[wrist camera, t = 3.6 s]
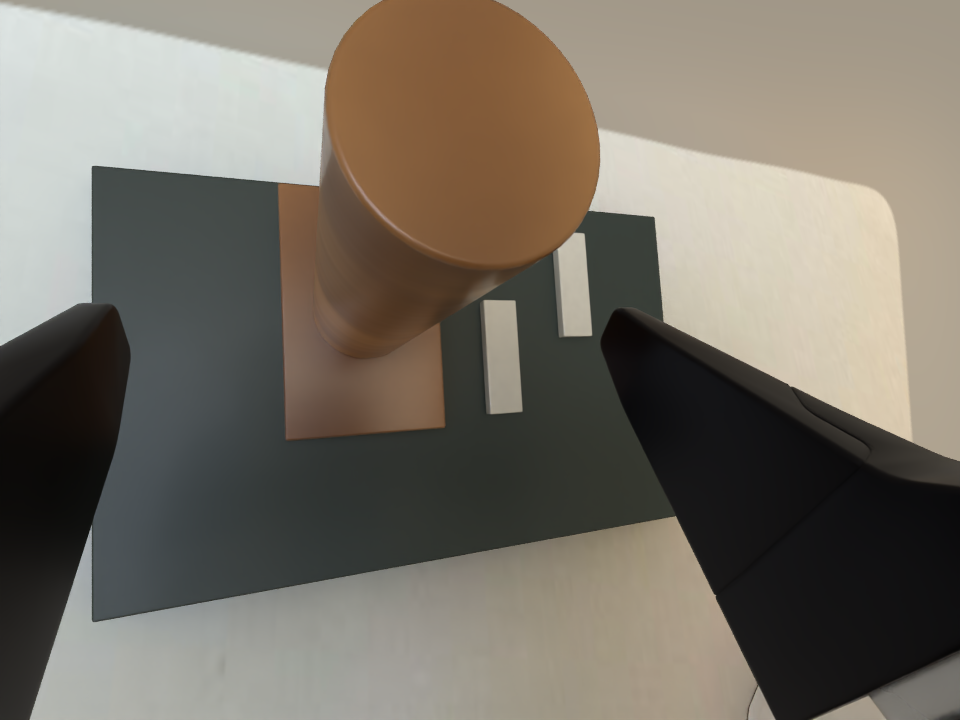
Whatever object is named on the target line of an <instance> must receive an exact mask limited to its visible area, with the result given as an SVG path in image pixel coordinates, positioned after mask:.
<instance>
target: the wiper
mask: <svg viewBox="0 0 960 720" xmlns="http://www.w3.org/2000/svg"><path fill="white" fill-rule="evenodd" d="M599 167H600V143H599V136H598V128H597V124H596V121H595V117H594V113H593V110H592V107H591V104H590V101H589V99H588V96H587V94H586V92H585V89H584V88H583V85H582V83H581V81H580V80H579V78H578V76H577V74H576V73H575V71H574V69H573V68H572V66H571V65H570V63H569V62H568V61H567V59H566V58H565V57H564V55H563V54H562V53H561V51H560V50H559V49H558V48H557V47H556V46H555V44H554V43H553V42H552V41H551V40H550V39H549V38H548V37H547V36H546V35H545V34H544V33H543V32H542V31H540V30H539V29H538V28H537V27H536V26H535V25H534V24H532V23H531V22H530V21H528V20H527V19H525V18H524V17H523V16H521V15H520V14H519V13H517V12H515V11H513V10H512V9H510V8H508V7H507V6H505V5H503V4H501V3H499V2H496V1H494V0H383V1H381V2H379V3H378V4H376V5H374V6H373V7H371V8H370V9H368V10H367V11H366V12H365V13H364V14H363V15H362V16H361V17H359V18H358V19H357V20H356V21H355V22H354V23H353V25H352V26H351V27H350V28H349V30H348V31H347V32H346V33H345V35H344V36H343V38H342V39H341V41H340V43H339V45H338V46H337V48H336V50H335V52H334V55H333V58H332V61H331V63H330V66H329V69H328V75H327V80H326V85H325V97H324V115H323V133H322V150H321V168H320V186H319V187H317V186H306V185H295V184H284V183H279V184H278V208H279V243H280V277H281V311H282V346H283V380H284V414H285V439H286V441H293V440H305V439H318V438H330V437H342V436H354V435H366V434H378V433H390V432H402V431H414V430H426V429H438V428H445V407H444V388H443V369H442V350H441V331H440V322H441V321H443V320H444V319H446V318H447V317H449V316H451V315H452V314H454V313H456V312H457V311H459V310H460V309H462V308H464V307H465V306H467V305H469V304H470V303H472V302H473V301H475V300H477V299H478V298H480V297H482V296H483V295H485V294H486V293H488V292H490V291H491V290H493V289H495V288H496V287H498V286H499V285H501V284H503V283H504V282H506V281H508V280H509V279H511V278H512V277H514V276H516V275H517V274H519V273H521V272H522V271H524V270H525V269H527V268H529V267H530V266H532V265H534V264H535V263H537V262H538V261H540V260H542V259H543V258H545V257H547V256H548V255H550V254H551V253H552V252H554V251H555V250H557V249H558V248H559V247H561V246H562V245H563V244H564V243H565V242H566V241H567V240H568V239H569V238H570V237H571V236H572V235H573V234H574V232H575V231H576V229H577V228H578V227H579V225H580V224H581V223H582V221H583V219H584V217H585V215H586V213H587V212H588V210H589V207H590V204H591V202H592V199H593V196H594V194H595V190H596V186H597V182H598V177H599Z"/></svg>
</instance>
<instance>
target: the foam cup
mask: <svg viewBox="0 0 960 720" xmlns="http://www.w3.org/2000/svg"><path fill="white" fill-rule="evenodd" d="M748 720H775V718H774V716H773V714H772V712H771V710H770V708H769V706H768V704H767V702H766V700H765V698H764V696H763V694H762V692H761V690H760V688H759V686H758V688H757V690H756V693H755V695H754V697H753V700H752V702H751V705H750V707H749V715H748ZM813 720H886V718H885V717H884V716H883V714H882V713H881V712H880V710H879V709H878V708H877V706H876V705H875V704H874V702H873V701H872V700H871V698H870V697H869V696H867V697H865V698H862V699H860V700H858V701H855V702H853V703H851V704H848V705H846V706H844V707H841V708H839V709H837V710H834V711H832V712H830V713H827V714H825V715H823V716H820V717H818V718H816V719H813Z"/></svg>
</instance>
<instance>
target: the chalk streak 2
mask: <svg viewBox="0 0 960 720" xmlns="http://www.w3.org/2000/svg"><path fill="white" fill-rule="evenodd" d="M553 263H554V277H555V291H556V305H557V319H558V333H559V337H560V338H575V337H589V336H592V325H591V312H590V298H589V285H588V272H587V259H586V246H585V234H584V233H574V234H573V235H572V236H571V237H570V238H569V239H568V240H567V241H566V242H565V243H564V244H563V245H562V246H561V247H559V248H558V249H557V250H555V251H554V252H553Z"/></svg>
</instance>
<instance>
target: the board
mask: <svg viewBox="0 0 960 720" xmlns="http://www.w3.org/2000/svg"><path fill="white" fill-rule="evenodd" d="M278 184H279V183H277V182H266V181H255V180H244V179H233V178H222V177H212V176H201V175H190V174H179V173H168V172H157V171H146V170H135V169H124V168H113V167H102V166H92V303H109V304H112V305H114V306H115V307H116V309H117V310H118V312H119V315H120V318H121V321H122V324H123V327H124V330H125V334H126V337H127V340H128V343H129V346H130V351H131V362H130V368H129V374H128V380H127V387H126V393H125V399H124V405H123V411H122V418H121V424H120V430H119V435H118V440H117V445H116V449H115V452H114V456H113V459H112V462H111V465H110V469H109V472H108V475H107V478H106V481H105V484H104V487H103V491H102V494H101V497H100V500H99V503H98V506H97V509H96V512H95V516H94V519H93V522H92V621H93V622H98V621H103V620H109V619H114V618H120V617H125V616H131V615H136V614H142V613H147V612H152V611H158V610H163V609H169V608H174V607H180V606H185V605H191V604H196V603H202V602H207V601H213V600H218V599H224V598H229V597H235V596H240V595H246V594H251V593H257V592H262V591H268V590H273V589H279V588H284V587H290V586H295V585H301V584H306V583H312V582H317V581H323V580H328V579H334V578H339V577H344V576H350V575H355V574H361V573H366V572H372V571H377V570H383V569H388V568H394V567H399V566H405V565H410V564H416V563H421V562H427V561H432V560H438V559H443V558H449V557H454V556H460V555H465V554H471V553H476V552H482V551H487V550H493V549H498V548H504V547H509V546H515V545H520V544H525V543H531V542H536V541H542V540H547V539H553V538H558V537H564V536H569V535H575V534H580V533H586V532H591V531H597V530H602V529H608V528H613V527H619V526H624V525H630V524H635V523H641V522H646V521H652V520H657V519H663V518H668V517H674V516H676V515H675V513H674V511H673V509H672V507H671V505H670V503H669V501H668V499H667V497H666V495H665V493H664V491H663V489H662V487H661V485H660V483H659V481H658V479H657V477H656V475H655V473H654V470H653V468H652V466H651V464H650V462H649V460H648V458H647V456H646V454H645V452H644V450H643V448H642V446H641V444H640V442H639V440H638V438H637V436H636V434H635V432H634V430H633V428H632V426H631V424H630V421H629V419H628V417H627V415H626V413H625V411H624V409H623V407H622V404H621V402H620V399H619V397H618V394H617V392H616V389H615V386H614V383H613V381H612V378H611V375H610V373H609V370H608V367H607V364H606V362H605V359H604V356H603V354H602V351H601V347H600V339H601V336H602V334H603V332H604V329H605V327H606V325H607V323H608V321H609V318H610V316H611V314H612V312H613V311H614V310H615V309H617V308H619V307H632V308H636V309H638V310H640V311H642V312H644V313H646V314H648V315H650V316H652V317H654V318H656V319H658V320H660V321H662V322H663V310H662V299H661V287H660V276H659V264H658V253H657V241H656V230H655V218H654V217H648V216H637V215H627V214H616V213H605V212H594V211H588V212H587V213H586V215H585V217H584V219H583V221H582V223H581V224H580V225H579V227H578V228H577V229H576V231H575V232H574V233H584V234H585V246H586V259H587V272H588V285H589V298H590V312H591V325H592V336H589V337H575V338H560V337H559V333H558V319H557V305H556V291H555V277H554V263H553V252H552V253H551V254H550V255H548V256H547V257H545V258H543V259H542V260H540V261H538V262H537V263H535V264H534V265H532V266H530V267H529V268H527V269H525V270H524V271H522V272H521V273H519V274H517V275H516V276H514V277H512V278H511V279H509V280H508V281H506V282H504V283H503V284H501V285H499V286H498V287H496V288H495V289H493V290H491V291H490V292H488V293H486V294H485V295H483V296H482V297H480V298H478V299H477V300H475V301H473V302H472V303H470V304H469V305H467V306H465V307H464V308H462V309H460V310H459V311H457V312H456V313H454V314H452V315H451V316H449V317H447V318H446V319H444V320H443V321H441V322H440V331H441V350H442V369H443V388H444V407H445V428H438V429H426V430H414V431H402V432H390V433H378V434H366V435H354V436H342V437H330V438H318V439H305V440H293V441H286V439H285V414H284V380H283V346H282V311H281V277H280V243H279V208H278ZM284 184H288V183H284ZM295 185H299V184H295ZM306 186H310V185H306ZM317 187H319V186H317ZM483 300H514V301H515V302H516V317H517V332H518V348H519V363H520V379H521V394H522V410H523V411H522V412H517V413H504V414H487V413H486V399H485V382H484V365H483V348H482V331H481V315H480V302H482V301H483Z"/></svg>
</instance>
